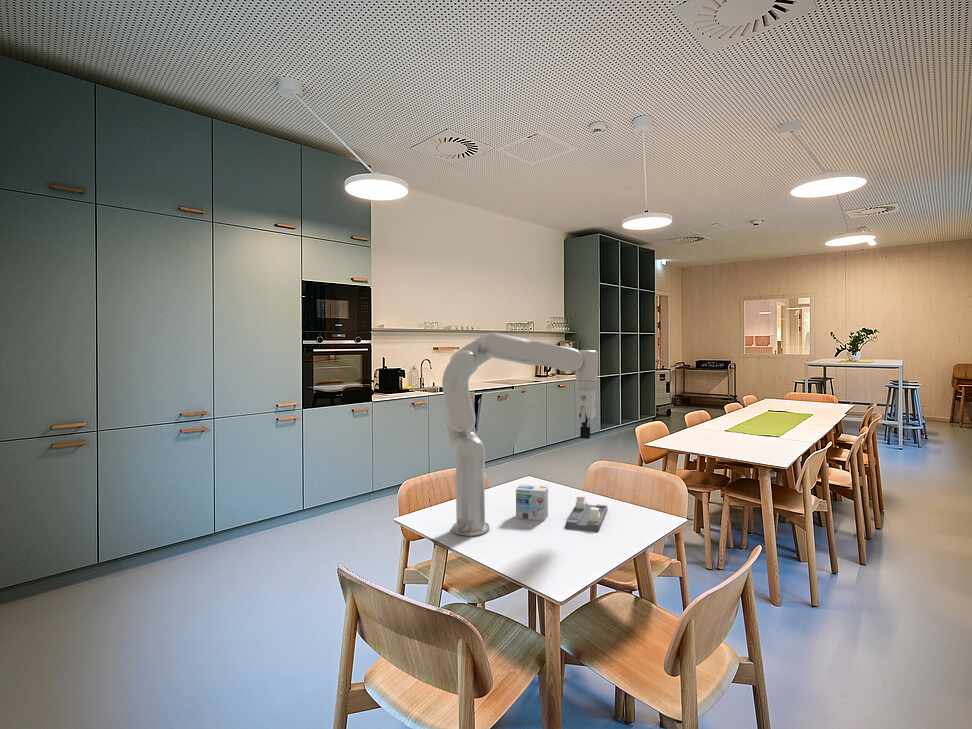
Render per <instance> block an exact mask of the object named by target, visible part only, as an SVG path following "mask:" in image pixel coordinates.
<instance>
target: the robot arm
mask: <svg viewBox="0 0 972 729" xmlns="http://www.w3.org/2000/svg"><path fill="white" fill-rule="evenodd" d="M492 358H493V359H499V360H504V361H507V362H513V363H517V364H521V365H522V364H523V365H528V366H529V365H530V366H540V367H541V366H542V367H547V368H552V369H553V368H554V369H557V370H559V371H562V372H563V371H564V372H575V387H574V388H575V389H574V390H577V392H578V393H577V409H576V410H577V418H578V419H580V430H579V432H580V433H579V438H580V439H586V440H589V439H590V438H591V420H592V419H594V418H595V417H596V414H597V413H596V412H597V411H596V391H598V379H599V378H598V377H599V376H598V375H599V373H598V372H599V371H598V370H599V353H598V351H597V350H591V349H590V350H589V349H581V350H578V349H576V348H573V347H567V346H561V345H560V346H559V345H555V344H551V343H545V342H541V341H538V340H534V339H530V338H529V339H528V338H523V337H519V336H513V335H511V334H510V335H509V334H505V333H502V332H501V333H500V332H488V333H485V334H483V335H481V336H480V337H478V338H476V339H475V340H473V341H472V342H470V343H469V344H467V345H465V346H463V347H462V348H460V349H458V350H456V351H455V352H454V353H453V354H452V356H451V357H450V360H449V362H448V364H447V365H446V367H445V369H444V371H443V376H442V381H441V382H442V383H441V385H442V392H443V393H442V394H443V397H444V402H445V403H444V404H445V407H446V411H445V412H444V413H445V414H444V418H445V419H444V420H445V423H446V428H447V431H448V436H449V441H450V443H451V448H452V449H453V453H454V454H455V457H456V458H455V462H456V465H455V502H456V504H455V508H456V509H455V511H456V512H455V513H456V514H455V516H456V518H455V519H456V522H455V523H453V525H451V531H452V532H453V533H454V534H457V535H460V536H465V537H474V536H475V537H476V536H482V535H484V534H486V533H488V532H489V531H490V528H491V527H490V524H489V523H488V522H487V521H485V520H486V511H485V509H486V506H485V505H486V504H485V500H486V499H485V498H486V497H485V465H486V463H485V462H486V448H485V445H484V443H483V442H482V439H480V438H479V437H478V435H477V431H476V430H477V429H476V427H475V425H476V421H477V420H476V419H477V418H476V417H477V416H476V412H475V410H474V407H473V403H472V399H471V394H470V389H469V381H470V379H471V376H472V375H473V374H475V373H476V372H477V370H478V368H479V366H481V365H483V364H484V363H486V362H488V361H490V359H492Z"/></svg>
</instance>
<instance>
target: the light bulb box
mask: <svg viewBox="0 0 972 729" xmlns="http://www.w3.org/2000/svg"><path fill="white" fill-rule="evenodd" d="M548 516H549V486H548V485H536V484H535V485H532V484H531V485H529V484H519V485H518V487H516V489H515V519H519V520H529V521H539V522H545V521H546V519H547V518H548Z"/></svg>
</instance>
